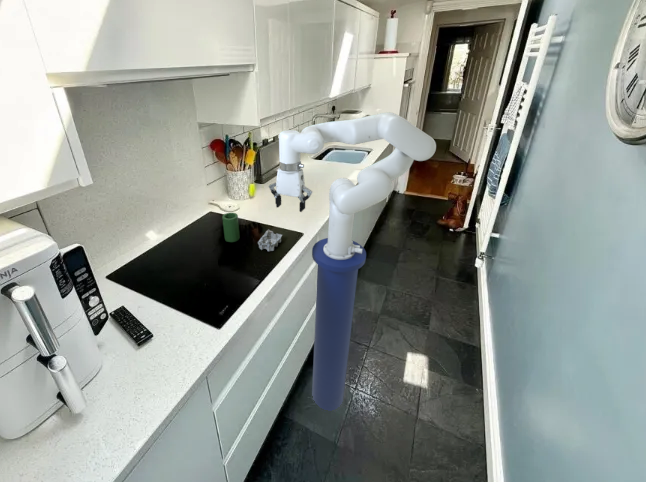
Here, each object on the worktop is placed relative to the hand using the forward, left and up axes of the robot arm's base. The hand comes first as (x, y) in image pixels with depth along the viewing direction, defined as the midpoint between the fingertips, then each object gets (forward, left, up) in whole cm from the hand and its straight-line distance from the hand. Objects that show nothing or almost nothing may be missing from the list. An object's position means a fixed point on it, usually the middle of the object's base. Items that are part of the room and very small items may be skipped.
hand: (290, 208), depth 118 cm
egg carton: (+9, 0, -18) cm, 20 cm away
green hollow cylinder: (+26, +1, -18) cm, 32 cm away
